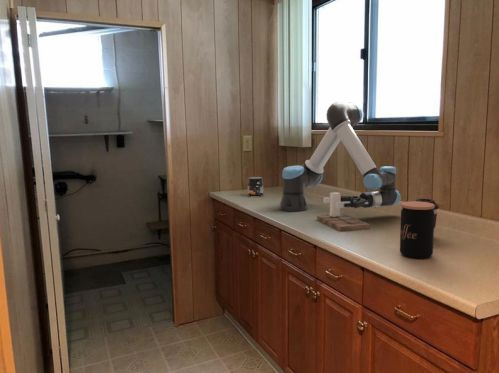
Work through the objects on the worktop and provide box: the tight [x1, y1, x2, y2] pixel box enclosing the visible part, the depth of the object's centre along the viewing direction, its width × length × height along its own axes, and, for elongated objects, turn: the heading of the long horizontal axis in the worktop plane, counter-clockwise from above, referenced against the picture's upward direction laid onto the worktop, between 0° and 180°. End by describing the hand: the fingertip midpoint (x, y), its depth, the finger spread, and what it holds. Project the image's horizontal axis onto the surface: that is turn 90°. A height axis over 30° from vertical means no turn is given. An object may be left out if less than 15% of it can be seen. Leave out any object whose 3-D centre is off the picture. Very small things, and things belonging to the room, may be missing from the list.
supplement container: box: [247, 176, 264, 197], centre depth 274 cm, size 10×10×12 cm
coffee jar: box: [399, 200, 435, 260], centre depth 142 cm, size 11×11×18 cm
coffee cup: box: [415, 198, 440, 238], centre depth 165 cm, size 10×10×15 cm
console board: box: [316, 213, 371, 232], centre depth 190 cm, size 24×14×2 cm, turn 15°
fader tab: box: [329, 192, 342, 217], centre depth 196 cm, size 3×4×11 cm
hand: (330, 202), depth 195 cm, fingers open, 13 cm apart
